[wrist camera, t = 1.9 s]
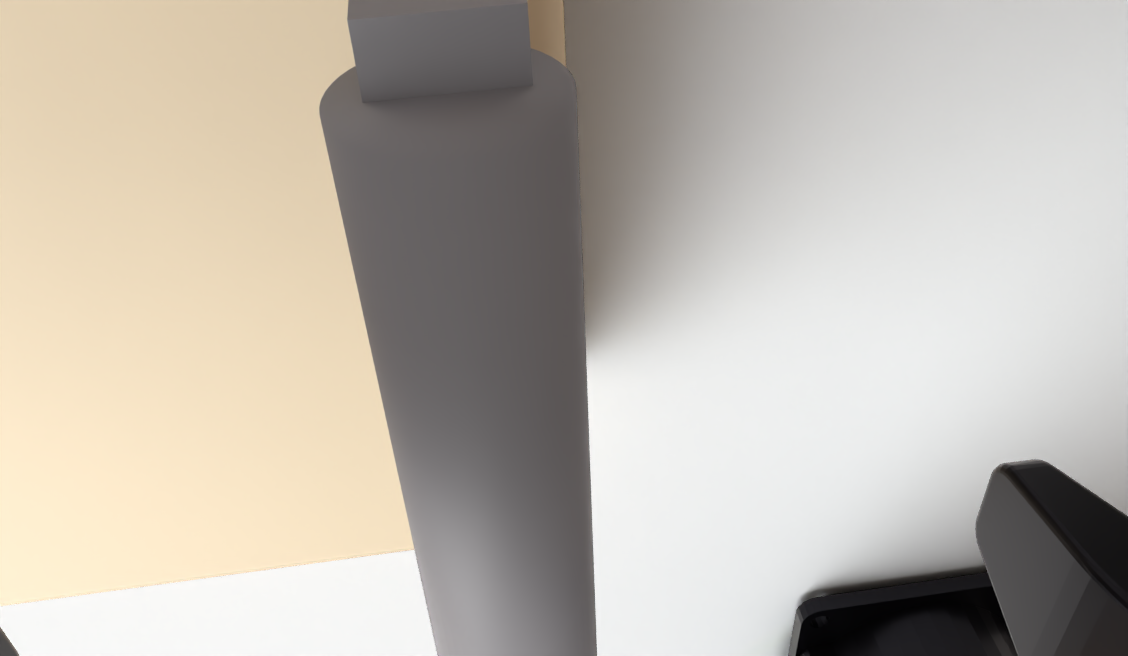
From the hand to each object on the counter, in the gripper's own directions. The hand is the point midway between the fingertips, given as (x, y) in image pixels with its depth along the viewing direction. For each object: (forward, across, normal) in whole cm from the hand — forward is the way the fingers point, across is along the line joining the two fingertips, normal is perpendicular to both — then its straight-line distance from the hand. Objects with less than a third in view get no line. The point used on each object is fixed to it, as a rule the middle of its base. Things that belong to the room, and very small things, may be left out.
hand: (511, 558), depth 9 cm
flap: (+5, +4, 0) cm, 7 cm away
